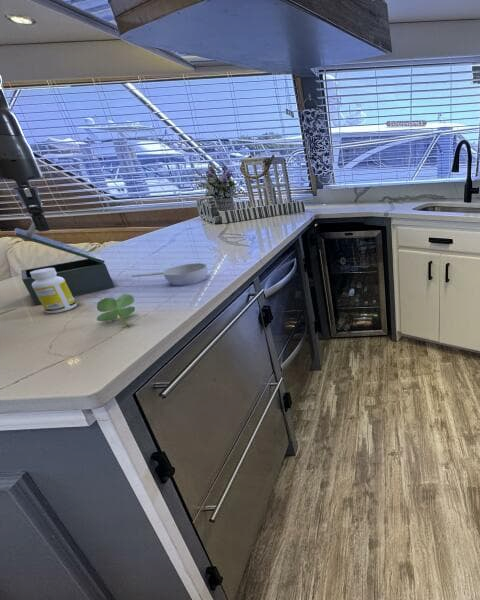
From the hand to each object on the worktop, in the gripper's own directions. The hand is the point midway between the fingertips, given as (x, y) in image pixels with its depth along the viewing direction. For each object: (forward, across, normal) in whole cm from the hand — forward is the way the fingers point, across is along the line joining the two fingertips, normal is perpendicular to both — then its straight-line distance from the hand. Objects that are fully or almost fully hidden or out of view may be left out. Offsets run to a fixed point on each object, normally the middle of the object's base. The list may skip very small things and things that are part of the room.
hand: (43, 229), depth 82 cm
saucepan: (+17, +17, +21) cm, 31 cm away
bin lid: (+5, 0, +2) cm, 5 cm away
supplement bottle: (+17, +16, -3) cm, 24 cm away
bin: (+17, 0, +1) cm, 17 cm away
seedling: (+17, +37, +4) cm, 41 cm away
